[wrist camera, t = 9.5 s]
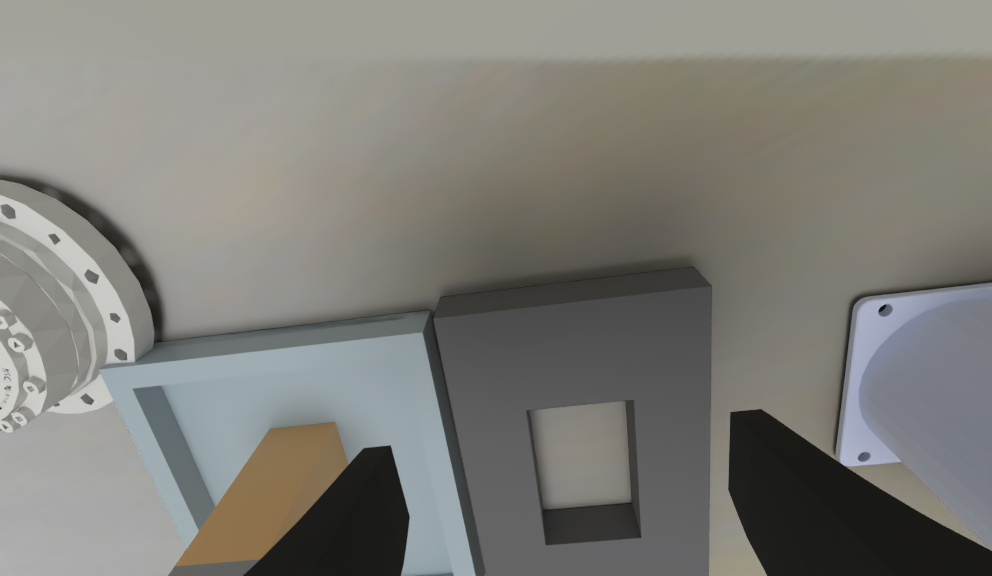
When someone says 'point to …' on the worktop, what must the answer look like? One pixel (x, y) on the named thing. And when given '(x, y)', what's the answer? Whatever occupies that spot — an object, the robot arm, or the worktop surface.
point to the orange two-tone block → (265, 499)
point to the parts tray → (304, 419)
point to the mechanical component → (61, 309)
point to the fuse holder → (579, 381)
